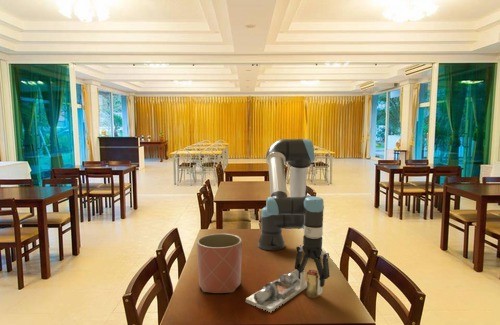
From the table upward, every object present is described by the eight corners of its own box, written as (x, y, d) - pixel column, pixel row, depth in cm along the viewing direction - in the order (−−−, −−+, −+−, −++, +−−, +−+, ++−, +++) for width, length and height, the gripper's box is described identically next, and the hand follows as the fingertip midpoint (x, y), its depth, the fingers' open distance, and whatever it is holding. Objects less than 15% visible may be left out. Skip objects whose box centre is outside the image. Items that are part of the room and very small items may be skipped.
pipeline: (285, 278, 152) (286, 264, 152) (309, 285, 145) (309, 271, 144) (245, 302, 131) (245, 286, 130) (270, 312, 123) (270, 295, 123)
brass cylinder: (310, 290, 140) (310, 268, 139) (320, 294, 137) (321, 271, 136) (304, 295, 137) (304, 271, 136) (315, 298, 133) (315, 275, 133)
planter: (201, 275, 155) (201, 233, 153) (243, 276, 155) (243, 233, 153) (193, 295, 136) (192, 247, 134) (240, 296, 136) (240, 248, 134)
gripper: (286, 232, 138) (285, 285, 141) (331, 244, 125) (329, 302, 128) (296, 228, 144) (294, 279, 146) (340, 239, 131) (338, 295, 134)
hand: (310, 290), depth 137 cm, fingers open, 7 cm apart
